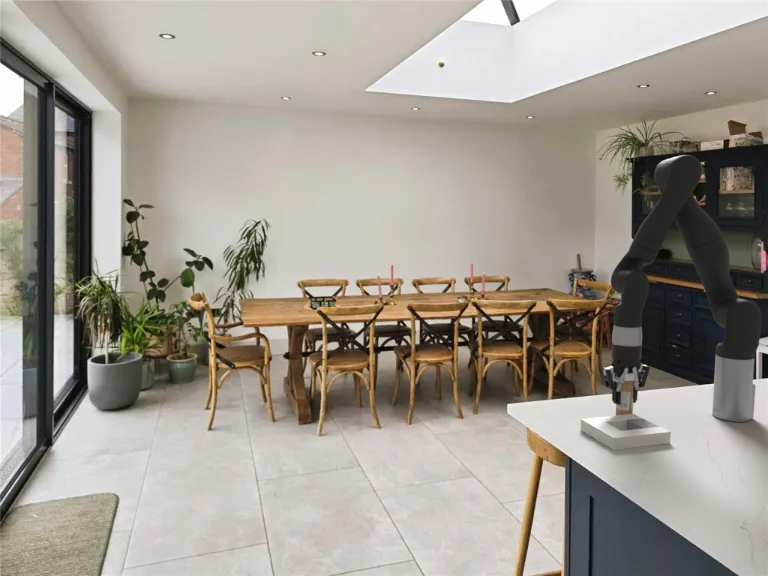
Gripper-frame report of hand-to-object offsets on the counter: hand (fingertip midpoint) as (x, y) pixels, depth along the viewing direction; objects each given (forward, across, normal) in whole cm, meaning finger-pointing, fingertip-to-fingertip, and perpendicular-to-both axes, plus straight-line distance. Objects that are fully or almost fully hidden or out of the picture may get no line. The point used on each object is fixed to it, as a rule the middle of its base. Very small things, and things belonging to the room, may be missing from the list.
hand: (624, 402), depth 163 cm
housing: (+5, +8, +11) cm, 14 cm away
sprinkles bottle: (+5, 0, 0) cm, 5 cm away
